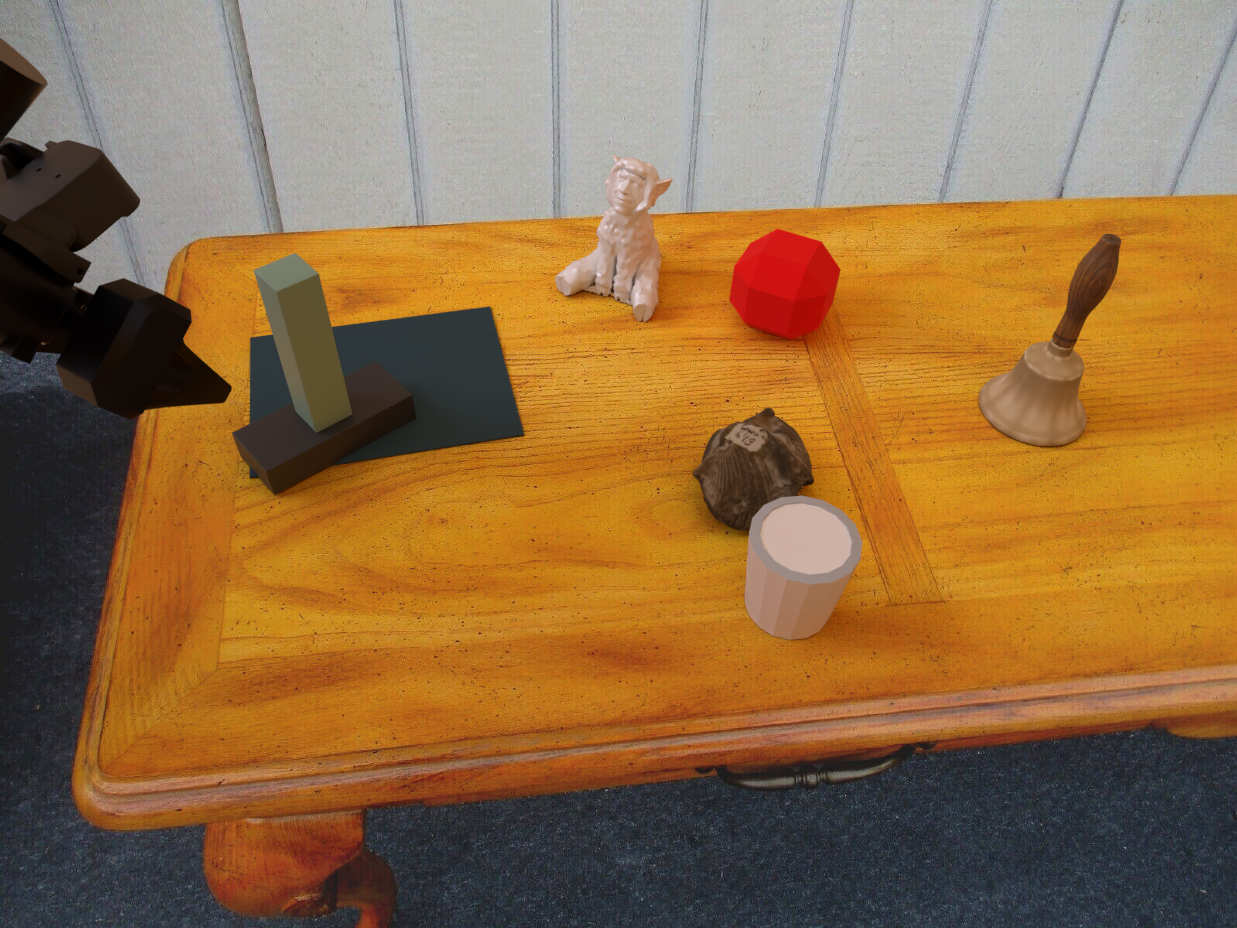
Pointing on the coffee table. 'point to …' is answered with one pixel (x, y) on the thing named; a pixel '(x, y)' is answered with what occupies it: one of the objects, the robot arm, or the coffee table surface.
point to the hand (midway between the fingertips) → (182, 373)
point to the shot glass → (798, 565)
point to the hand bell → (1053, 364)
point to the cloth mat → (414, 379)
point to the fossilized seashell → (752, 468)
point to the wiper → (314, 386)
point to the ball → (784, 284)
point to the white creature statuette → (623, 241)
